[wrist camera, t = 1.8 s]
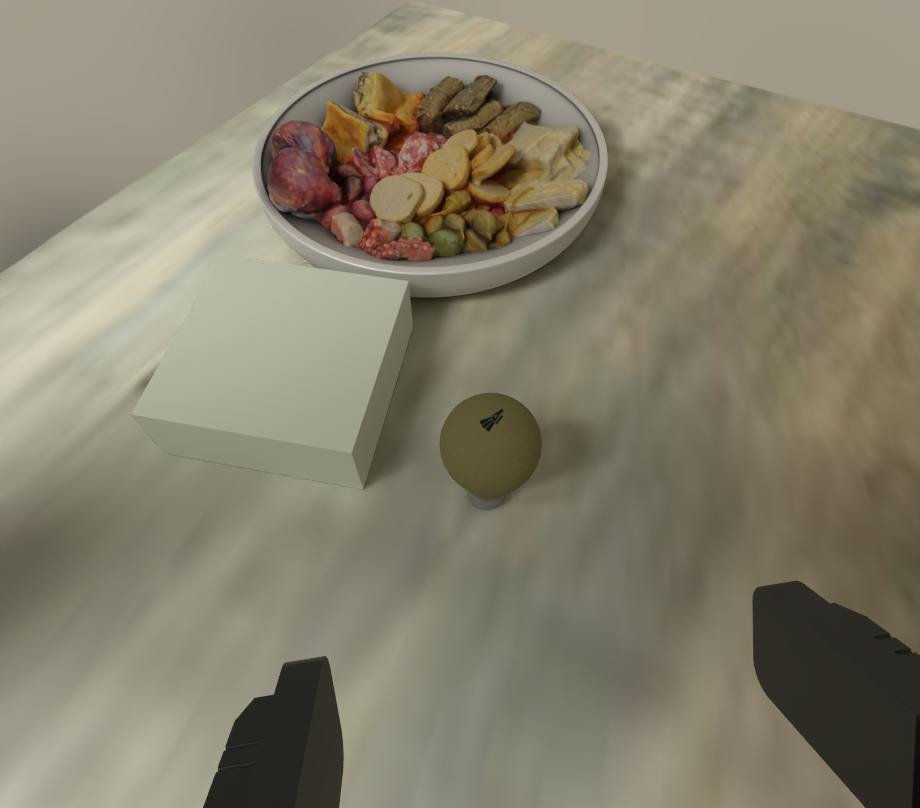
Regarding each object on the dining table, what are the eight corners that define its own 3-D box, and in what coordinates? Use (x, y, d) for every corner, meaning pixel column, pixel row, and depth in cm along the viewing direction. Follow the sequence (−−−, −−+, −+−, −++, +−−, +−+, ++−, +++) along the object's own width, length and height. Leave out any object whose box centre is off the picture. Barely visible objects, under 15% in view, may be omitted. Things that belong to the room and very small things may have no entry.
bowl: (492, 72, 68) (495, -7, 61) (666, 238, 53) (695, 159, 47) (225, 154, 60) (196, 74, 53) (345, 374, 46) (325, 302, 39)
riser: (164, 453, 42) (130, 414, 38) (242, 301, 49) (222, 254, 45) (363, 489, 40) (351, 453, 36) (413, 326, 48) (408, 281, 44)
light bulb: (510, 552, 38) (523, 482, 30) (428, 517, 39) (419, 440, 31) (541, 478, 41) (562, 394, 32) (464, 447, 42) (465, 358, 34)
